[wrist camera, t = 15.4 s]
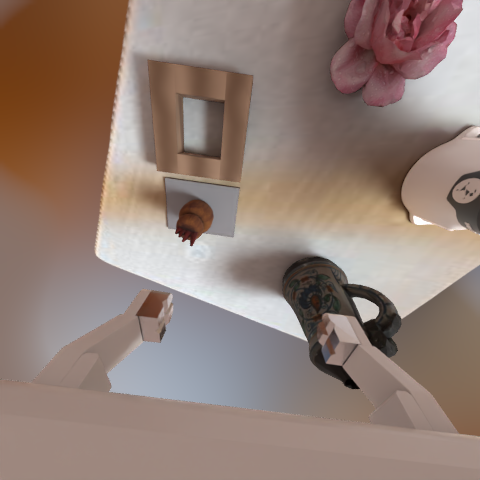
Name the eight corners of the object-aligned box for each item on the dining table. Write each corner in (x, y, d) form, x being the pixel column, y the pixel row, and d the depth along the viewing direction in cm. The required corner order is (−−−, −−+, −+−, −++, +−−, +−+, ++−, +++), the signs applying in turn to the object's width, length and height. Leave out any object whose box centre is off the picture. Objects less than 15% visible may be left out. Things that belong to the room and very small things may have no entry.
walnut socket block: (252, 82, 32) (252, 75, 29) (240, 178, 40) (239, 182, 36) (158, 68, 32) (147, 59, 28) (165, 167, 40) (157, 170, 36)
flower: (394, 123, 31) (455, 87, 22) (310, 95, 32) (334, 48, 22) (442, 19, 28) (538, -77, 19) (349, -10, 29) (396, -119, 19)
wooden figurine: (221, 210, 43) (207, 242, 30) (206, 227, 45) (187, 264, 32) (196, 190, 41) (170, 216, 28) (182, 209, 43) (152, 241, 30)
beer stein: (273, 295, 56) (288, 398, 34) (297, 239, 46) (338, 332, 25) (326, 305, 57) (373, 412, 35) (360, 253, 47) (453, 354, 26)
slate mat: (239, 187, 41) (239, 188, 40) (233, 236, 47) (233, 237, 46) (165, 177, 41) (164, 178, 40) (169, 227, 46) (168, 228, 46)
